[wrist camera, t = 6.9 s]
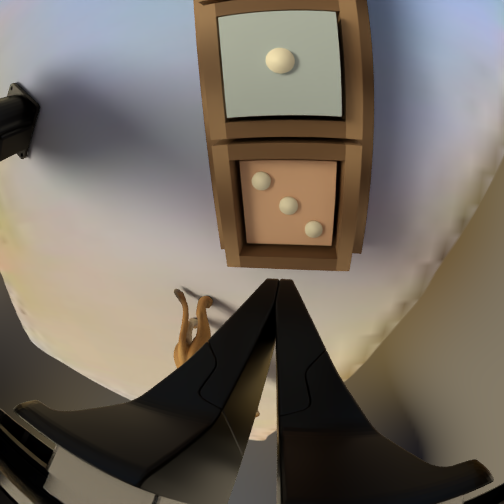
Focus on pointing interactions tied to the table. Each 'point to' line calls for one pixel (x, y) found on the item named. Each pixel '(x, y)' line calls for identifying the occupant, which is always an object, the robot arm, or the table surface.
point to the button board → (291, 137)
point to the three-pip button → (288, 200)
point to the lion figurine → (203, 330)
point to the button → (281, 63)
